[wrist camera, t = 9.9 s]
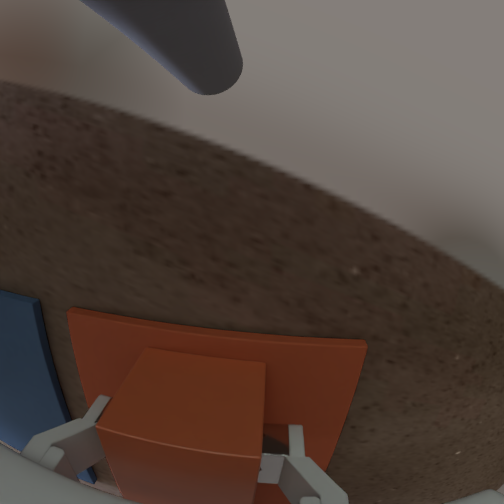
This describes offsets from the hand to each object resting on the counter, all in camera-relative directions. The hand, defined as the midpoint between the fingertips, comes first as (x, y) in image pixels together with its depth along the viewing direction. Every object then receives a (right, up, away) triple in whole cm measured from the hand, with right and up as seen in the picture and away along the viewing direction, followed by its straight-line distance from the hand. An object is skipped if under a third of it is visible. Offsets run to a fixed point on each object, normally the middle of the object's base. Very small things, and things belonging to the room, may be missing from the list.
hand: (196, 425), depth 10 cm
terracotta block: (0, 0, +2) cm, 2 cm away
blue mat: (-14, -2, +4) cm, 15 cm away
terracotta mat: (0, -3, +3) cm, 4 cm away
